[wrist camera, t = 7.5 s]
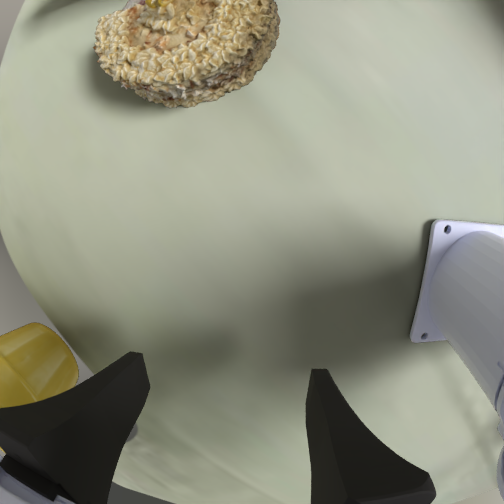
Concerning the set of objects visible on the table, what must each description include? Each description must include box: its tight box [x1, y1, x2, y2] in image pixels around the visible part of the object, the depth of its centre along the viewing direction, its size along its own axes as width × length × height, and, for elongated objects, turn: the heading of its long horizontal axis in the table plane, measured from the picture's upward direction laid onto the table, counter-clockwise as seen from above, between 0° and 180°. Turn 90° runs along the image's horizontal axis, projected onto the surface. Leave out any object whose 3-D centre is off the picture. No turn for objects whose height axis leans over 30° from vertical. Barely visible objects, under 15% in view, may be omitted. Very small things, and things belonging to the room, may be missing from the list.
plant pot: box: [0, 323, 79, 453], centre depth 16 cm, size 10×10×10 cm
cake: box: [93, 0, 280, 108], centre depth 11 cm, size 10×10×5 cm
